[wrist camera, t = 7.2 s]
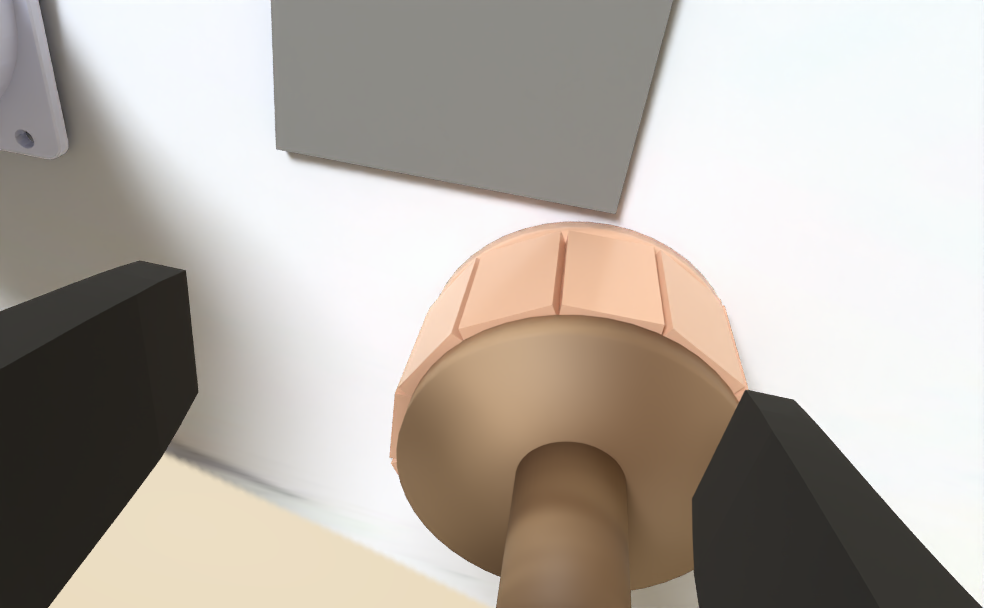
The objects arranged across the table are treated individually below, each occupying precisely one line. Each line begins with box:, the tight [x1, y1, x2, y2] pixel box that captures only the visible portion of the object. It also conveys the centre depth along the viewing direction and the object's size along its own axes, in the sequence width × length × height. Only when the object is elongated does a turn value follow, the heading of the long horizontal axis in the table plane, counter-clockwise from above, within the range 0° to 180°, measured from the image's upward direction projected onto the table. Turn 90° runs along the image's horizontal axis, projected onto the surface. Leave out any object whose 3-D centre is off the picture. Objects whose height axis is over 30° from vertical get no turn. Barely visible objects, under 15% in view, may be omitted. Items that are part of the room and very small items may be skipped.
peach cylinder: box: [390, 222, 748, 475], centre depth 18 cm, size 9×9×4 cm
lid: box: [396, 315, 739, 608], centre depth 15 cm, size 8×8×5 cm
